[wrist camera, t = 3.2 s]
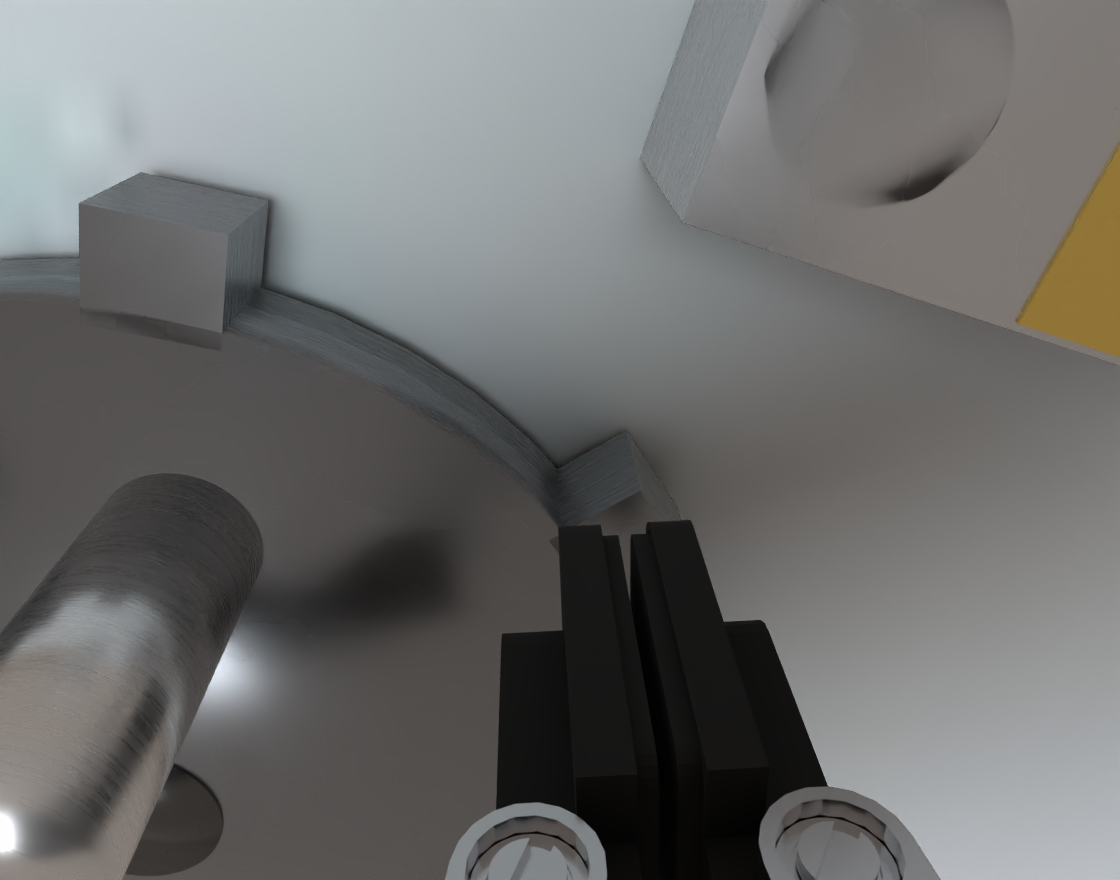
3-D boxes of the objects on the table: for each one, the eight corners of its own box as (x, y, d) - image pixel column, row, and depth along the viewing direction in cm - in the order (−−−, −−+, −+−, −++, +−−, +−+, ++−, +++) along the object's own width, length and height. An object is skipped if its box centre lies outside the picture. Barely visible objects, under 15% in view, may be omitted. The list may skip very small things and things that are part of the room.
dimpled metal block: (1354, 106, 13) (1661, 152, 10) (1191, 344, 15) (1402, 458, 11) (746, -143, 12) (846, -199, 8) (639, 158, 13) (683, 223, 10)
